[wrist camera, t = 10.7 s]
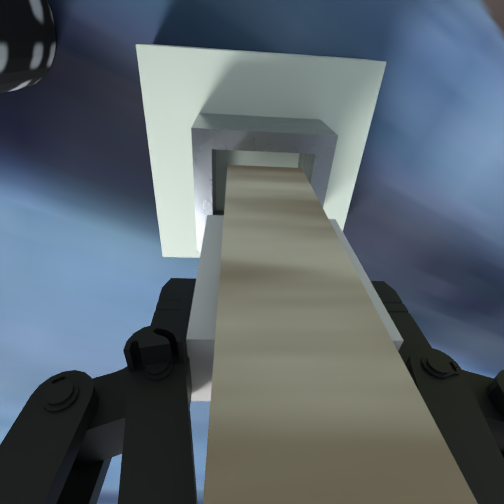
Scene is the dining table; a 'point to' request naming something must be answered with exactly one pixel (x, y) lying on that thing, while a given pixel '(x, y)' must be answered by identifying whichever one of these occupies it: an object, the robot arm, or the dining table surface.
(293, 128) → the cup bracket
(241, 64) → the mounting block
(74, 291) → the dining table surface
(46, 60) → the spotted tube
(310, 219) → the rail post
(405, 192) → the dining table surface
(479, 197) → the dining table surface
